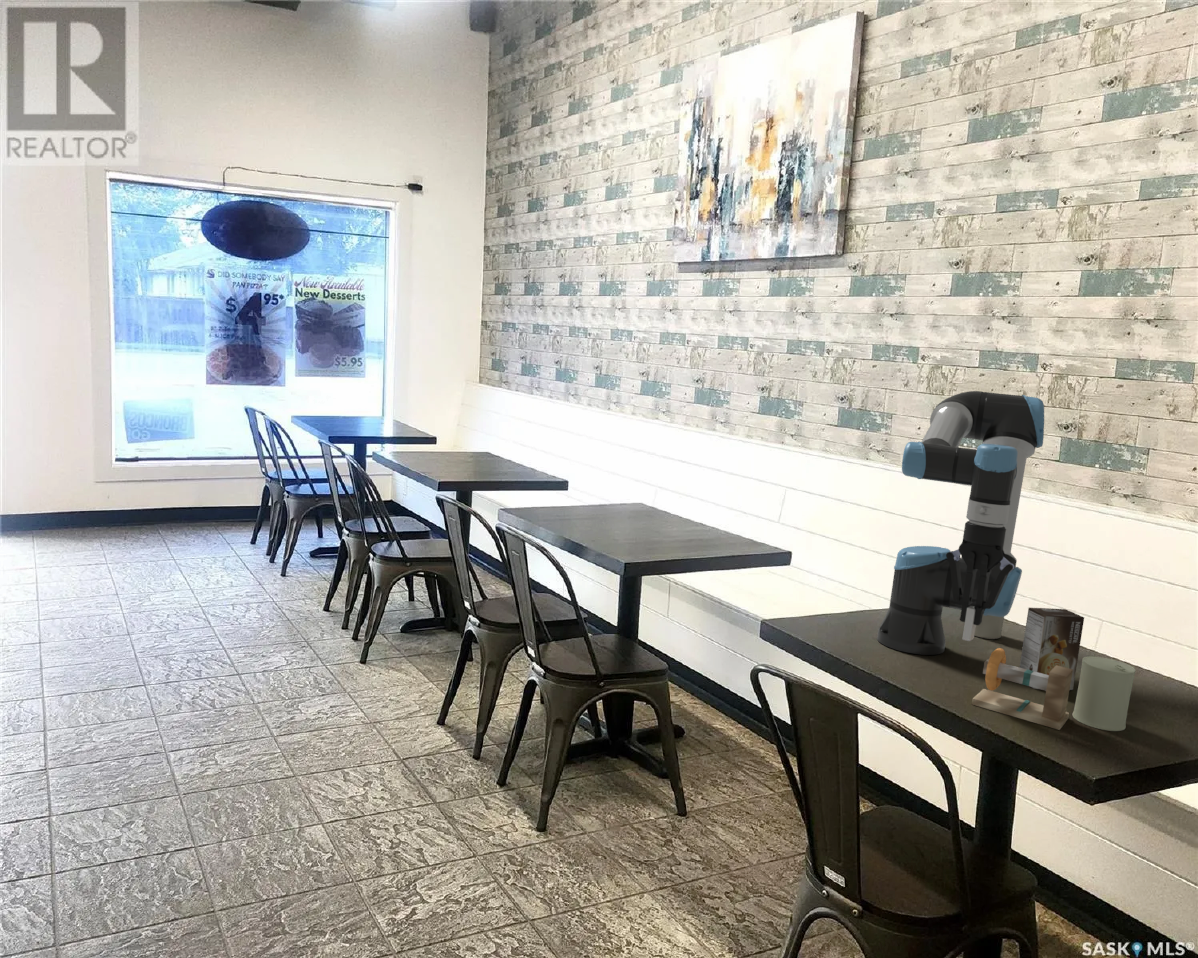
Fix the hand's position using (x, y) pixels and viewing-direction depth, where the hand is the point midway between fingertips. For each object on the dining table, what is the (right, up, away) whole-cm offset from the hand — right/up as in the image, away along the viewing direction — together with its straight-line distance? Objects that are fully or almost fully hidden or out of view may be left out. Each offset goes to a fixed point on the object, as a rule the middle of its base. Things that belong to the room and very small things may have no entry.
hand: (967, 638), depth 190 cm
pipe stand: (+8, -13, -5) cm, 16 cm away
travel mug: (+22, -7, +47) cm, 52 cm away
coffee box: (+21, -12, +13) cm, 28 cm away
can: (+23, -15, -6) cm, 28 cm away
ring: (+4, -9, -2) cm, 11 cm away
